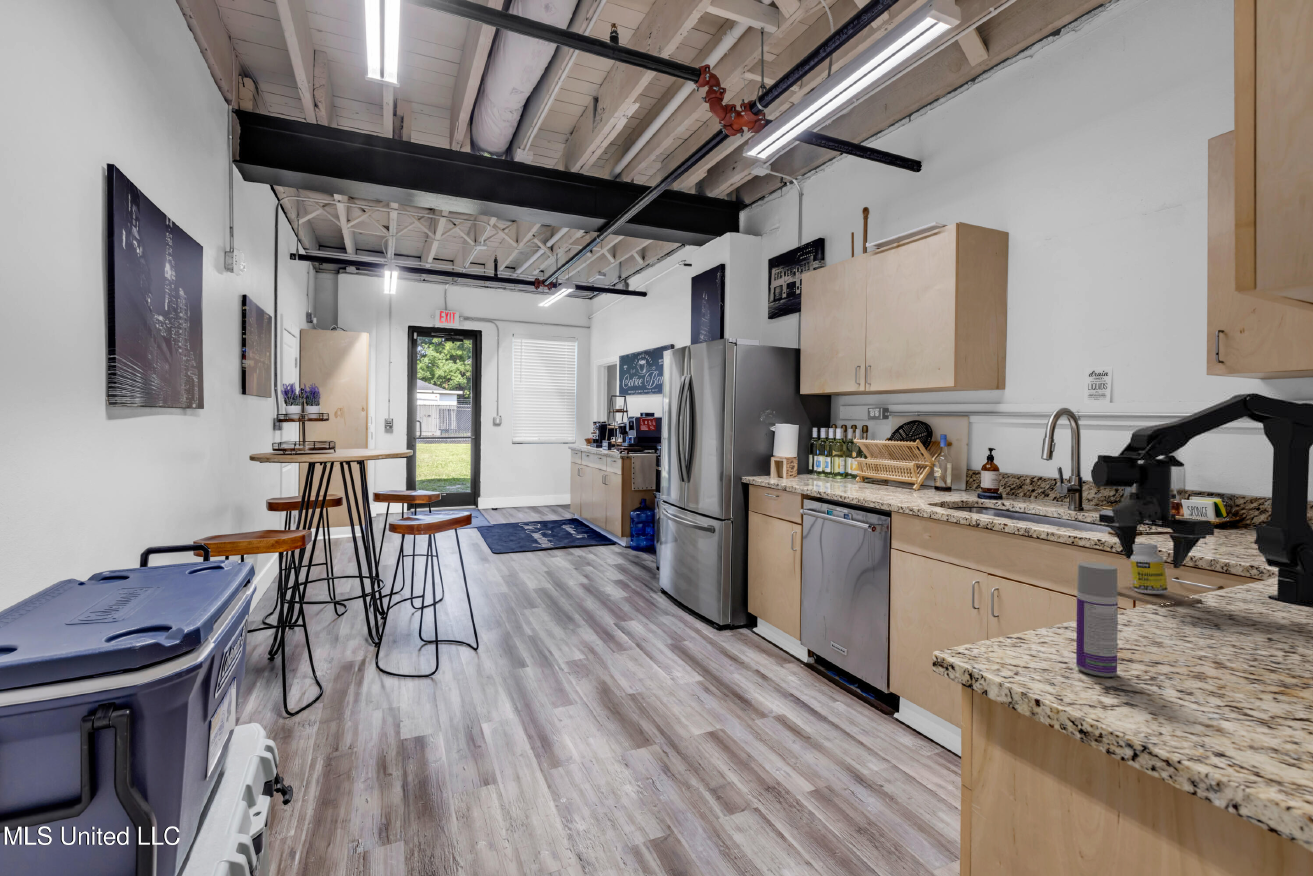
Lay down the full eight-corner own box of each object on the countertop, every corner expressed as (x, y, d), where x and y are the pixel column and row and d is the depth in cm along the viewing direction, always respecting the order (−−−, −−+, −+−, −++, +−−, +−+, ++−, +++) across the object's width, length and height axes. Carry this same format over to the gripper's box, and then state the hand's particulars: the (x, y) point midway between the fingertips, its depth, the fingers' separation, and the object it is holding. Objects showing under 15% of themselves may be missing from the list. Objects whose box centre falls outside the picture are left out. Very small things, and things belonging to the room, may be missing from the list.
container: (1077, 661, 87) (1078, 560, 87) (1117, 669, 84) (1118, 565, 84) (1074, 670, 83) (1075, 566, 83) (1116, 679, 80) (1117, 571, 80)
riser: (1144, 592, 128) (1144, 585, 128) (1201, 607, 117) (1202, 599, 117) (1104, 595, 125) (1104, 588, 125) (1159, 610, 114) (1160, 602, 114)
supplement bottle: (1136, 593, 120) (1129, 545, 121) (1132, 589, 125) (1126, 543, 126) (1170, 594, 118) (1163, 545, 118) (1165, 590, 122) (1159, 543, 123)
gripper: (1079, 485, 128) (1078, 555, 128) (1173, 493, 110) (1172, 576, 110) (1118, 484, 131) (1117, 553, 131) (1216, 492, 113) (1215, 572, 113)
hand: (1152, 563), depth 121 cm, fingers open, 9 cm apart
